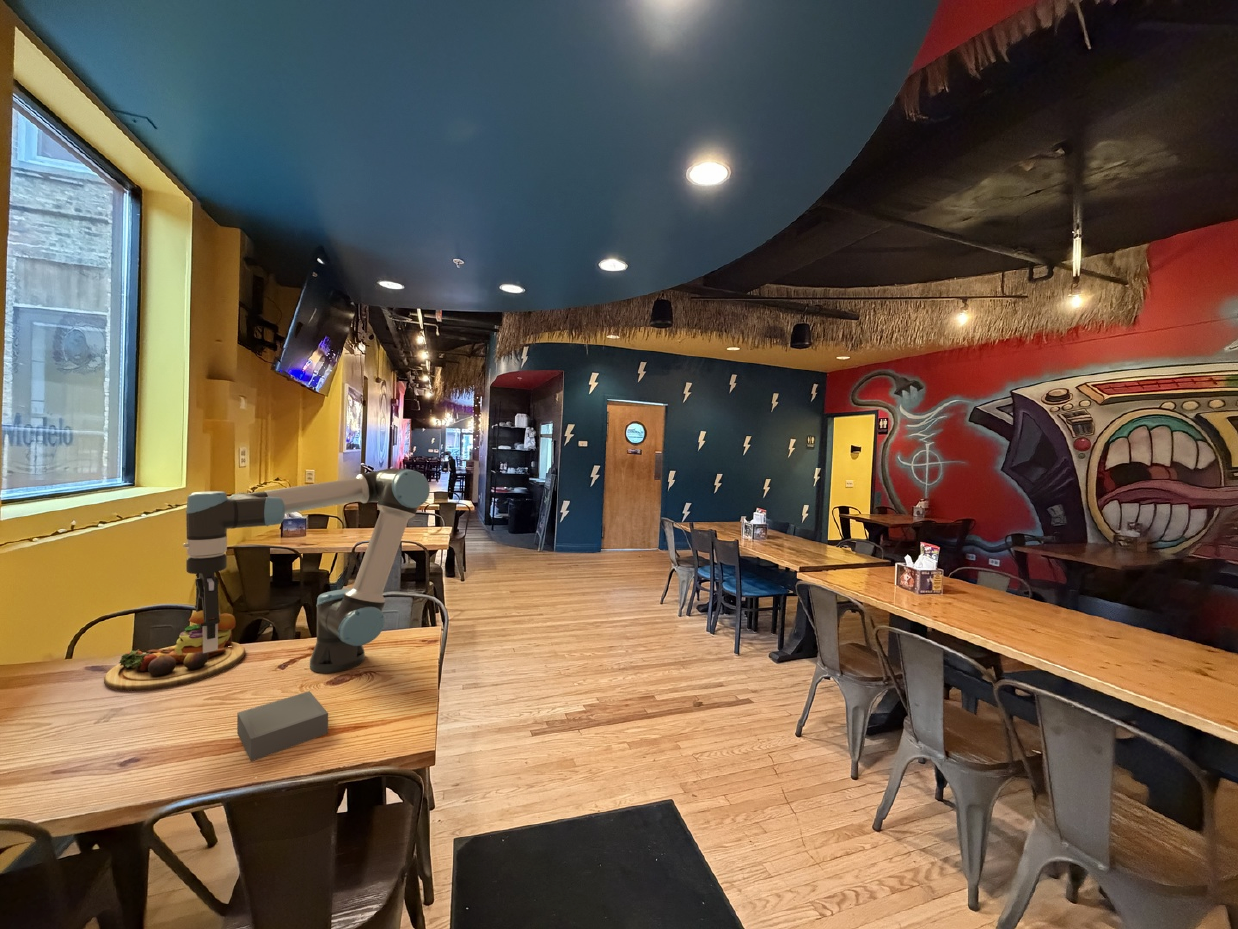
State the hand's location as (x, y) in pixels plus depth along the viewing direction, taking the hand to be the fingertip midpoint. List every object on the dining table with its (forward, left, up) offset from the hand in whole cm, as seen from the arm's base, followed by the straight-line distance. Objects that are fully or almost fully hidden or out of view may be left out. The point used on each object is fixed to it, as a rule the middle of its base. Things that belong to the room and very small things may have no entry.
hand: (206, 644), depth 119 cm
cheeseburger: (0, 0, -1) cm, 1 cm away
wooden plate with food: (+1, -45, -20) cm, 49 cm away
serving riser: (-12, +18, -20) cm, 29 cm away
